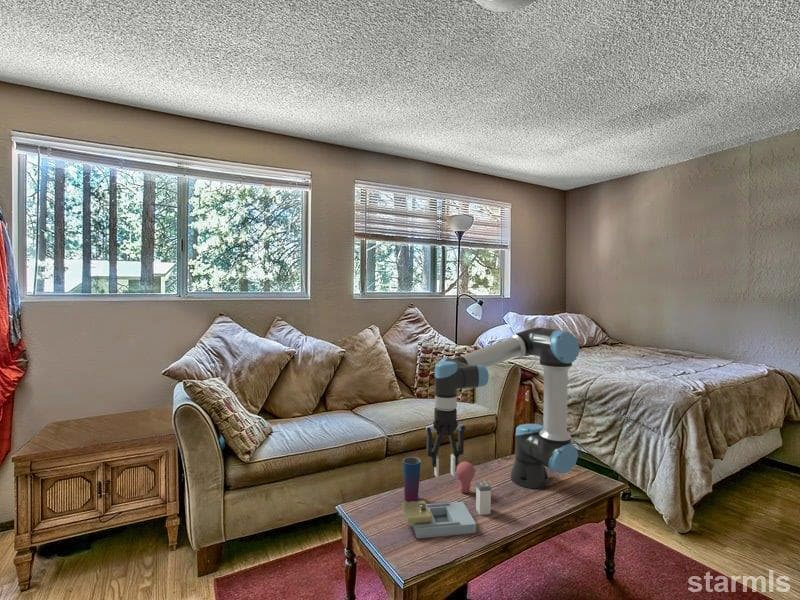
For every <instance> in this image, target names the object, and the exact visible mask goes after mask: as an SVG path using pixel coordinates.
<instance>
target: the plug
mask: <svg viewBox="0 0 800 600" xmlns="http://www.w3.org/2000/svg"><path fill="white" fill-rule="evenodd" d="M475 483H476V484H475V490H476V491H475V509H476V512H477V513H478V515H479V516H483V515H484V516H485V515H491V514H492V513H491V511H492V510H491V506H492V505H491V504H492V501H491V500H492V486H491V484H490V483H489V482H488V481H487V480H486V481H485V480H484V481H476V482H475Z"/></svg>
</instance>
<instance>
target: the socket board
mask: <svg viewBox="0 0 800 600" xmlns="http://www.w3.org/2000/svg"><path fill="white" fill-rule="evenodd" d="M426 505H427V507H428V509H429V512H430V514H431V516H432V517H431V523H429V524H418V525H412V529H413V531H414V534H415V535H414V536H415V537H416V539H425V538H437V537H445V536H459V535H469V534H476V533H477V523H476V520H475V519H474V517H473V516H472V514H471V513H470V511H469V509H468V508H467V506H466V505H465V503H464V501H456V502H455V501H454V502H449V501H447V502H436V503H434V502H432V503H426Z"/></svg>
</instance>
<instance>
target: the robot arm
mask: <svg viewBox="0 0 800 600" xmlns="http://www.w3.org/2000/svg"><path fill="white" fill-rule="evenodd" d="M579 354H580V344H579V341H578V339H577V337H576V336H575V335H574V334H573V333H571V332H569V331H566V330H562V329H555V328H545V327H533V328H528V329H525V330H522V331H518V332H517V333H514V334H512V335H510V337H509V338H507V339H505V340H502V341H499V342H497V343H494V344H491V345H488V346H484V347H482V348H480V349H476V350H474V351H470V352H468V353H465V354H463V355H460V356H456V357H454V358H451V357H444V358H442V359H441V360H440V361H438V362H436V364H435V365H434V366H435V367H434V411H433V412H434V416H433V417H434V418H433V419H434V420H433V423H432V424H431V425H426V426H425V427H424V428H425V430H426V455H427V457H429V458H430V457H431V466H432V467H433V468H434V469H433V470H434V473H433V474H434V476H435V478H439V476H440V475H439V471H440V470H439V469H440V467H439V466H440V462H439V461H440V458H439V456H438V453H439V450H440V445H441V441H442V439H443V437H445V436H448V439H449V442H450V446H451V449H452V454H451V453H450V474H451V476H452V477H456V467H457V466H458V465H459V458H460V455H461V456H462V455H464V450H465V447H464V446H465V445H464V441H465V440H464V439H465V438H464V437H465V436H464V434H465V430H466V426H465V425H464V424H463V423H458V421H457V418H458V417H457V416H458V415H457V414H458V409H457V407H458V390H464V389H474V388H477V389H478V388H482V387H486V385H487V384H488V382H489V379H490V377H489V370H488V368H489V367H492V366H495V365H496V364H500V363H502V362H504V361H509V360H510V359H513V358H516V357H518V358H524V357H527V356H533V357H539V365H540V366H541V367H542V368H543V409H542V410H543V416H542V417H543V422H542V423H543V424H538V423H524V424H519V425H518V426H517V427H515V428H516V429H515V434H514V436H515V445H514V446H515V449H514V450H515V454H514V455H515V458H514V459H515V460H514V462H513V464H512V466H511V470H510V480H511V481H512V482H513V483H514V484H516V485H518V486H521V487H525V488H527V489H528V488H529V489H543V488H545V487H547V486H548V485H549V474H548V471H547V468H548V469H549V470H550V471H552V472H553V471H554V472H555V473H558V474H566V473H568V472H569V471H571V470H572V469H573V467H574V466H575V465H576V463H577V461H578V457H579V452H578V449H577V448H576V446H575V445H573V443H572V435H571V434H570V433H569V432H568V382H569V381H568V377H569V376H568V373H569V372H568V371H569V369H571V368H572V366H573V362H575V361H576V360H577V357H578V356H579ZM434 429H435V431H436V433H435V435H436V436H435V439H434V444H433V432H434ZM456 429H457V443H456V440H455V434H454V433H455V430H456Z"/></svg>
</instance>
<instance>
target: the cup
mask: <svg viewBox="0 0 800 600" xmlns="http://www.w3.org/2000/svg"><path fill="white" fill-rule="evenodd" d="M421 460H422V459H420V458H419V457H416V456H408V457H407V456H406V457H405V458H403V459H402V472H403V489H404V490H403V491H404V500H405V501H404V502H412V501H419V491H420V489H419V488H420V478H421V477H420V475H421V464H422V463H421V462H422V461H421Z"/></svg>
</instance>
